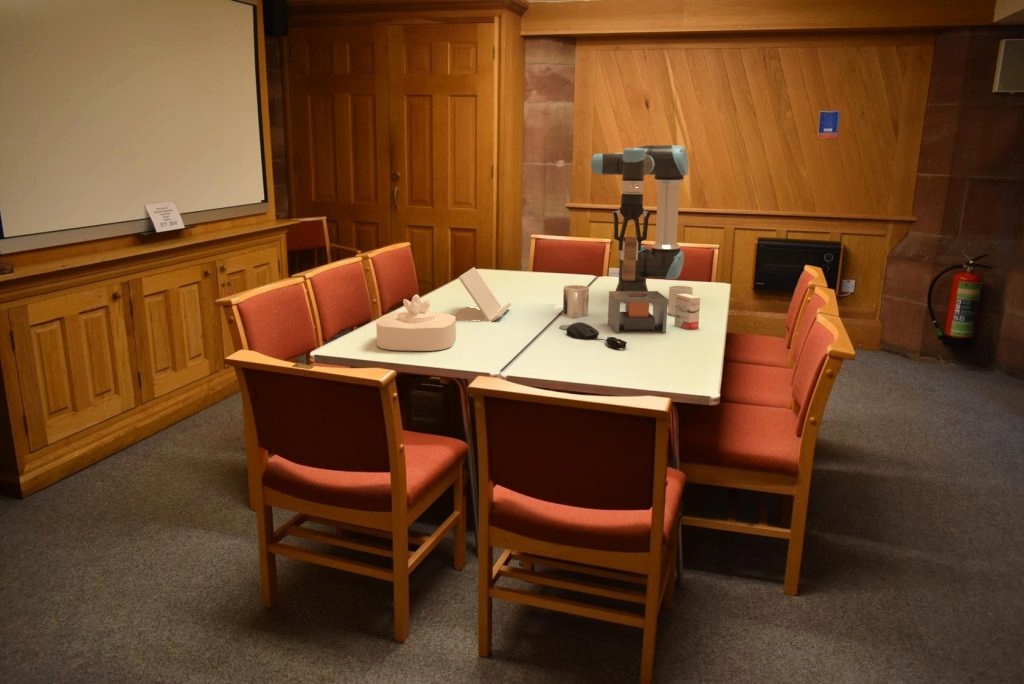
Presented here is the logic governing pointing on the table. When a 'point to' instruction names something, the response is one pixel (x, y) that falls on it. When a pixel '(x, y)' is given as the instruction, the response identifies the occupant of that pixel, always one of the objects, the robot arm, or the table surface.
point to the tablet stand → (480, 299)
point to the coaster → (564, 327)
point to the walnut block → (629, 259)
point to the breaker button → (637, 309)
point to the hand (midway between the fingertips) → (629, 259)
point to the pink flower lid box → (416, 328)
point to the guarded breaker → (637, 323)
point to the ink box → (687, 311)
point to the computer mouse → (592, 334)
